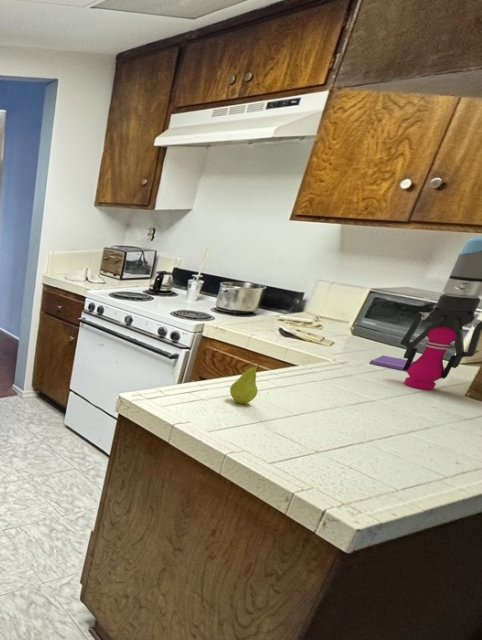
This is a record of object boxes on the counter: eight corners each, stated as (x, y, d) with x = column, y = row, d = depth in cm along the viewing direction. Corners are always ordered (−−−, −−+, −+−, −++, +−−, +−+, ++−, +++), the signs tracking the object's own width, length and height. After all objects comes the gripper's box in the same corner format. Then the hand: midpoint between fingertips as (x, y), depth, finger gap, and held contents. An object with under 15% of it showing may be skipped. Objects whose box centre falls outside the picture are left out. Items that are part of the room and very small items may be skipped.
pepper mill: (407, 380, 144) (437, 316, 136) (440, 388, 138) (473, 322, 130) (396, 383, 141) (426, 318, 133) (429, 392, 135) (463, 324, 127)
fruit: (224, 396, 128) (237, 355, 124) (249, 400, 127) (263, 358, 122) (229, 404, 123) (243, 361, 119) (256, 408, 122) (270, 364, 117)
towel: (447, 370, 154) (448, 367, 153) (436, 377, 147) (438, 374, 146) (381, 357, 166) (383, 354, 166) (369, 363, 159) (370, 360, 159)
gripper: (407, 290, 135) (374, 365, 144) (516, 303, 119) (472, 386, 128) (414, 288, 139) (382, 361, 148) (520, 300, 123) (478, 381, 132)
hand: (424, 373), depth 138 cm, fingers closed on pepper mill, 7 cm apart
